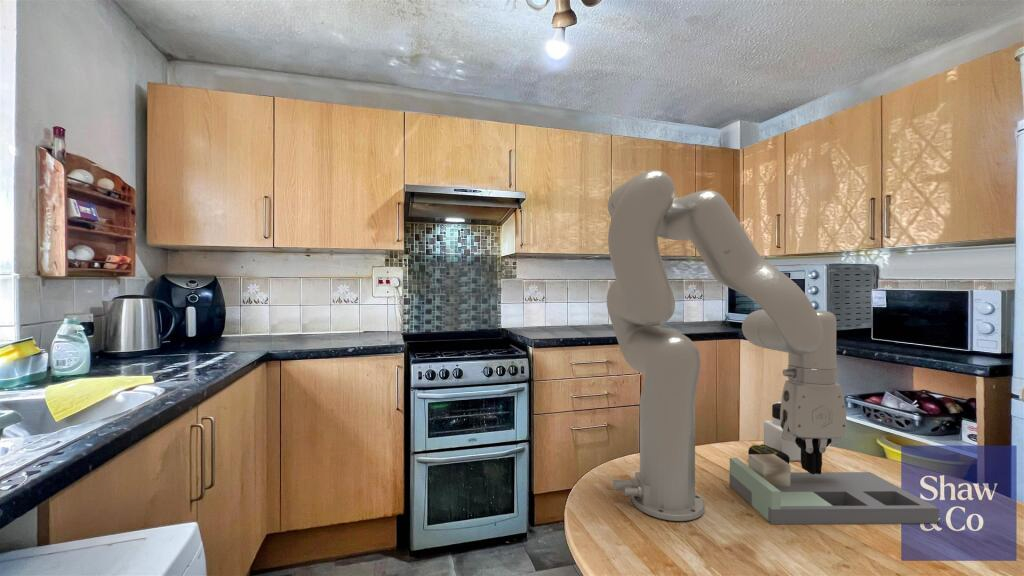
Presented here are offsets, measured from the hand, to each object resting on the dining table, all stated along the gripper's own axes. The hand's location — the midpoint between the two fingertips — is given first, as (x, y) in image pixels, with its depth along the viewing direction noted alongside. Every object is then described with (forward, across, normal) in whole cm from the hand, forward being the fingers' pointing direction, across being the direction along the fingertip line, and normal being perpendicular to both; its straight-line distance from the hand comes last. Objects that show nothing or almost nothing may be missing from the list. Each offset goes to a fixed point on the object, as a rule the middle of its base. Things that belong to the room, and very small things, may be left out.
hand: (811, 471), depth 84 cm
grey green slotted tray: (+4, 0, -4) cm, 6 cm away
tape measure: (+5, 0, +14) cm, 14 cm away
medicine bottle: (+4, +7, +18) cm, 20 cm away
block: (+2, -8, 0) cm, 8 cm away
